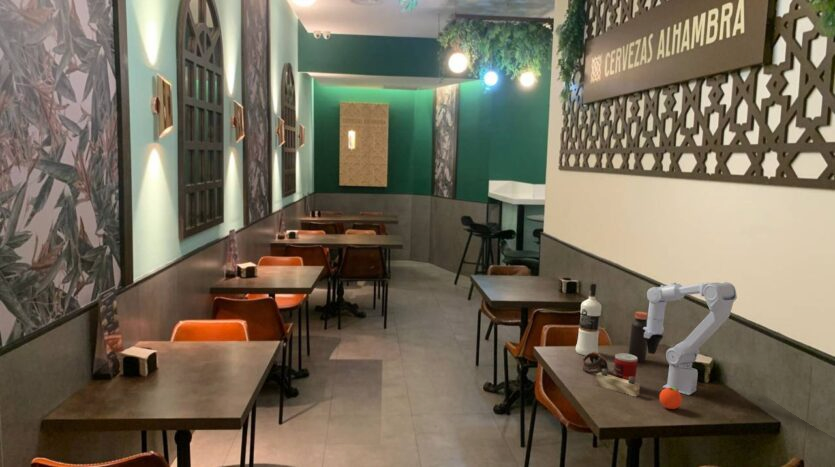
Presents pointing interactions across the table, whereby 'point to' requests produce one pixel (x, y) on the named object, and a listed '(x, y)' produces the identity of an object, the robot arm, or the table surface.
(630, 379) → the maple stop bar
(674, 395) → the clementine
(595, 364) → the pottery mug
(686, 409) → the table surface
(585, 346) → the vodka
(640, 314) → the bottle
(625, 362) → the canned food
